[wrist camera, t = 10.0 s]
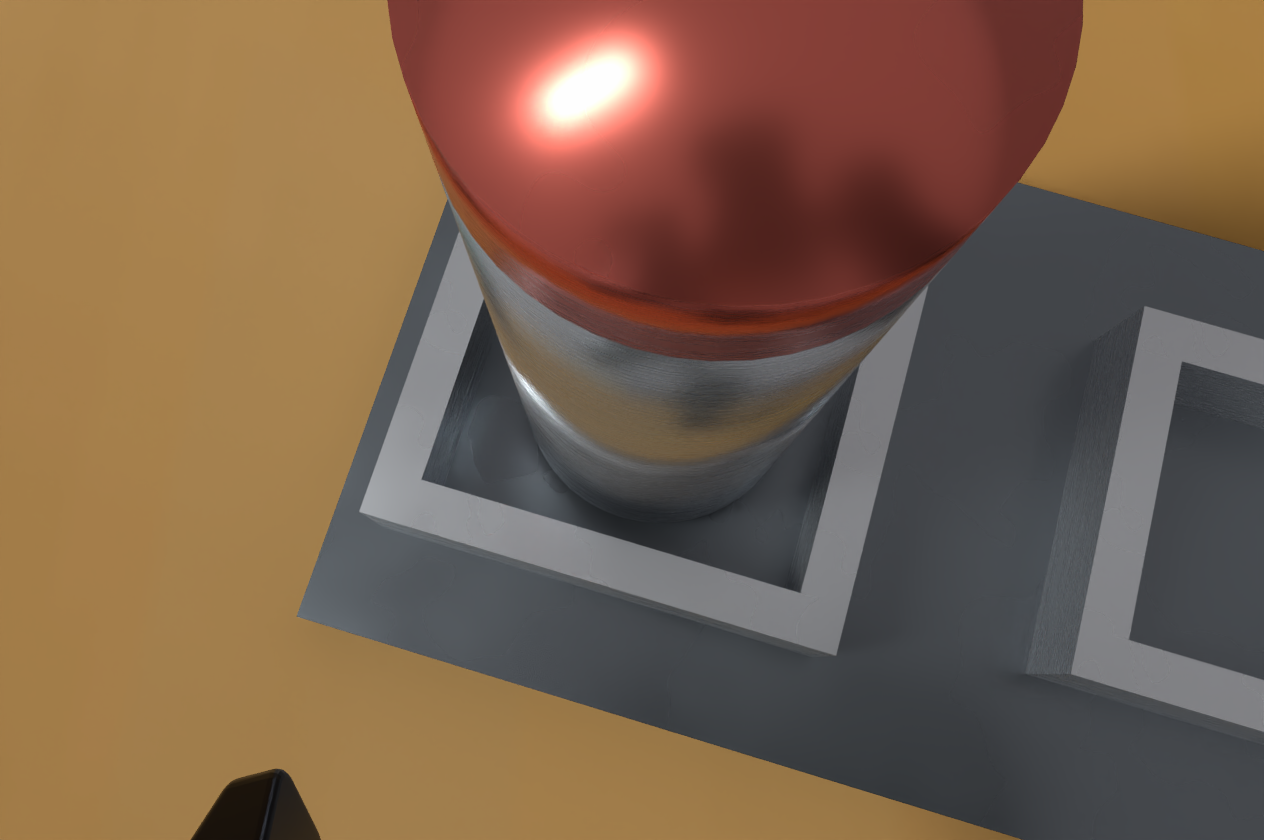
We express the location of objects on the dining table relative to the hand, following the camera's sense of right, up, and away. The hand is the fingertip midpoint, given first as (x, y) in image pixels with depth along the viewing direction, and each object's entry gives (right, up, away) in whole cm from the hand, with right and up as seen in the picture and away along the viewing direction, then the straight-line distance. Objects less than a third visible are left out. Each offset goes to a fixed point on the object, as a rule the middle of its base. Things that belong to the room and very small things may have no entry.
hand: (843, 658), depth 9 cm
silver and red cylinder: (-1, +2, +12) cm, 12 cm away
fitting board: (+5, +1, +13) cm, 13 cm away
